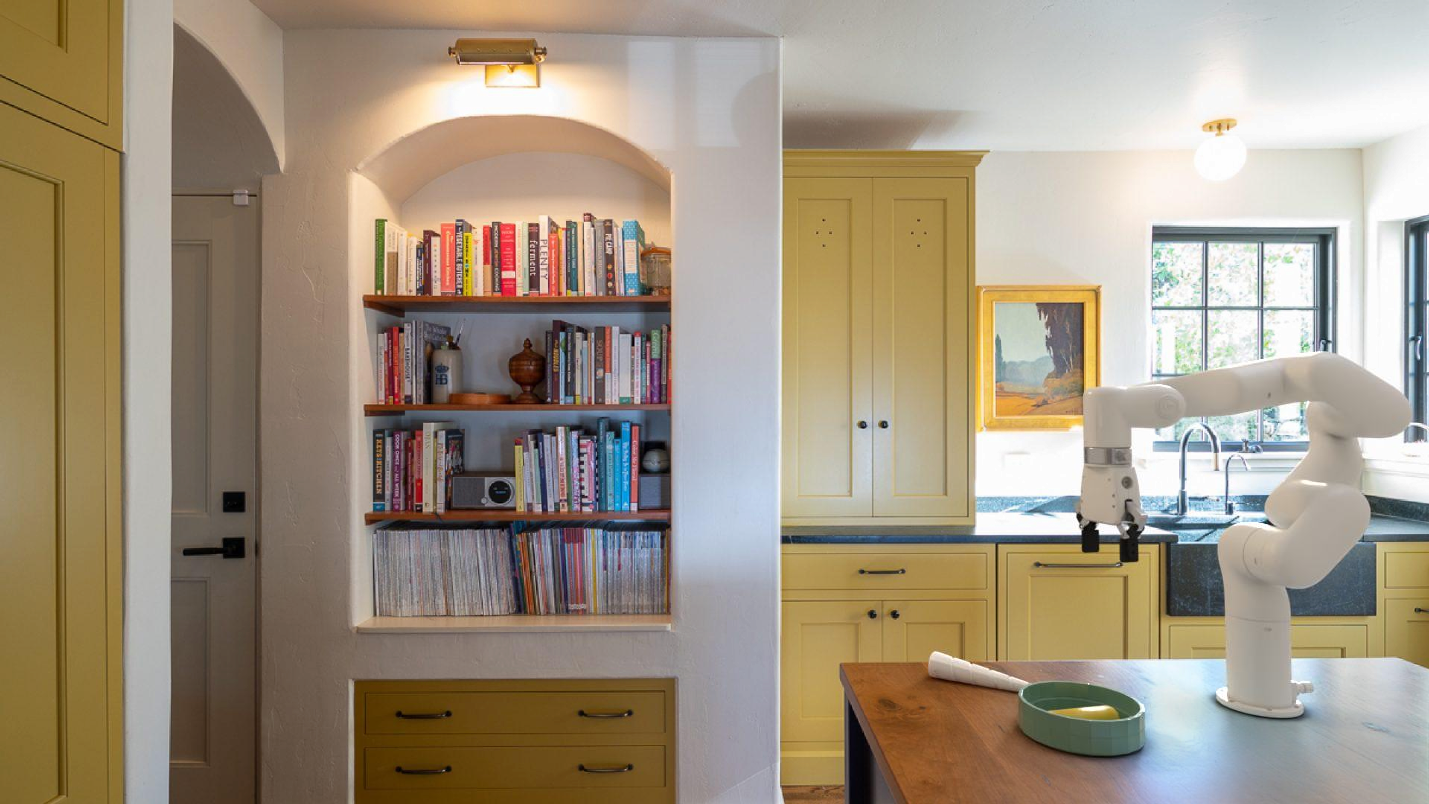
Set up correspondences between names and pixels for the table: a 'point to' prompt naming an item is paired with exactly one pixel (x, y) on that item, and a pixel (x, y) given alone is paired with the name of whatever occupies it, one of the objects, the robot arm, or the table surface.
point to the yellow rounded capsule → (1090, 713)
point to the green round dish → (1076, 731)
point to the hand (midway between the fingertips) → (1109, 557)
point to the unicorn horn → (970, 673)
